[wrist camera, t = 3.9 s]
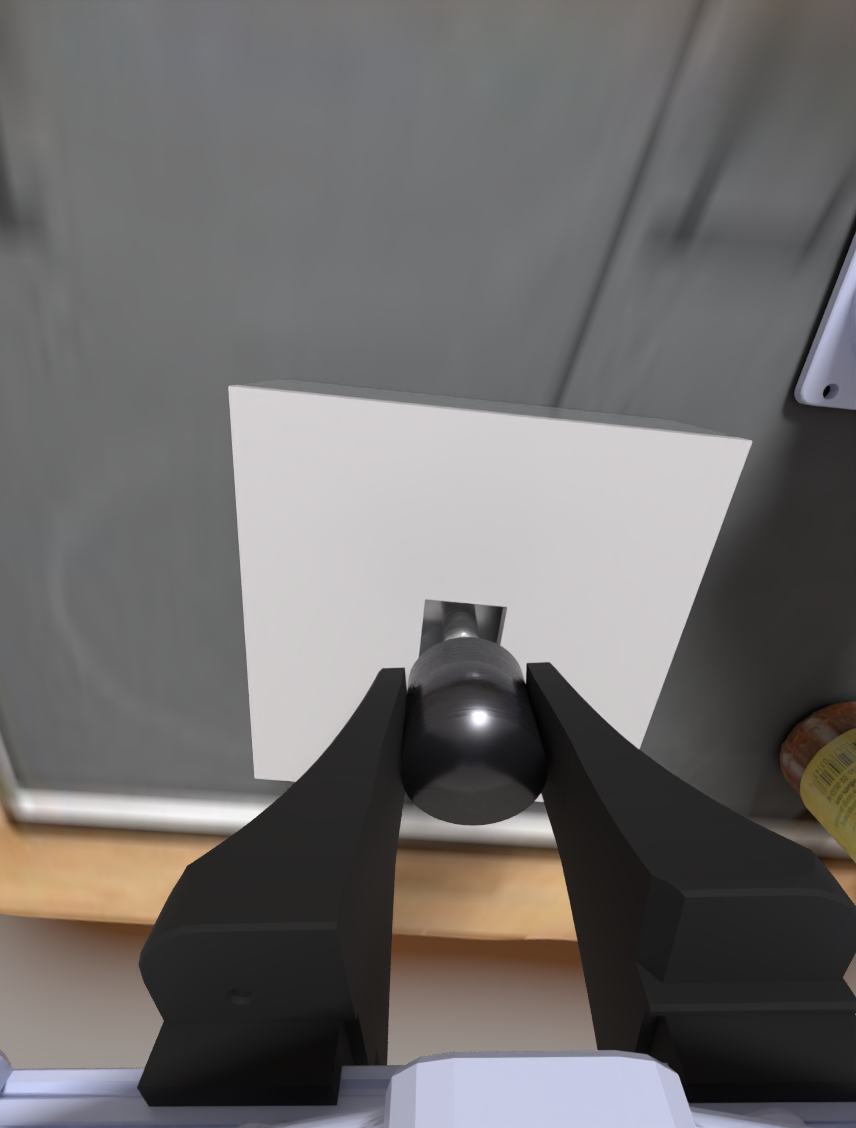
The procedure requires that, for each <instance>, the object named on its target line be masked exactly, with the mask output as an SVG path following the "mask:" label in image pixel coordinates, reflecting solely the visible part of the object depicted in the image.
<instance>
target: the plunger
mask: <svg viewBox="0 0 856 1128" xmlns="http://www.w3.org/2000/svg"><path fill="white" fill-rule="evenodd" d="M502 611H503V607H502V606H491V605H481V604H470V603H459V602H449V601H438V600H427V599H425V605H424V614H423V623H422V632H421V641H420V651H419V658H418V659H417V660H416V662H415V663H414V665H413V667H412V669H411V671H410V674H409V679H408V688H407V700H406V712H405V724H404V736H403V748H402V760H401V780H402V784H403V787H404V789H405V791H406V793H407V795H408V796H409V798H410V799H411V800H412V802H413V803H414V804H415V805H416V806H417V807H419V808H420V809H421V810H423V811H424V812H426V813H427V814H429V815H431V816H433V817H435V818H437V819H439V820H443V821H446V822H449V823H454V824H460V825H485V824H492V823H496V822H500V821H503V820H506V819H509V818H511V817H513V816H515V815H517V814H519V813H520V812H522V811H524V810H525V809H526V808H528V807H529V806H530V805H531V804H532V803H533V802H534V801H535V800H536V799H537V798H538V796H539V795H540V794H541V792H542V790H543V788H544V786H545V784H546V781H547V776H548V763H547V758H546V755H545V751H544V747H543V744H542V740H541V737H540V733H539V730H538V726H537V723H536V719H535V715H534V712H533V708H532V705H531V701H530V698H529V694H528V691H527V687H526V683H525V680H524V676H523V673H522V670H521V667H520V665H519V664H518V662H517V660H516V659H515V658H514V656H513V655H512V654H511V653H510V652H509V651H507V650H506V649H505V648H503V647H502V646H500V645H498V644H496V643H497V638H498V633H499V627H500V622H501V616H502Z"/></svg>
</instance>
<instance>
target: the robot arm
mask: <svg viewBox="0 0 856 1128" xmlns="http://www.w3.org/2000/svg"><path fill="white" fill-rule="evenodd" d="M828 385H829V386H830V392H829V393H828V395H827V396H825V397H823V390H824V389H825V387H826V386H828ZM794 394H795V399H796V400H797V401H798V402H799V403H801V404H805V405H814V406H823V407H833V408H842V409H851V410H856V233H855V235H854V238H853V240H852V243H851V246H850V248H849V251H848V253H847V256H846V258H845V261H844V264H843V266H842V269H841V271H840V274H839V277H838V279H837V282H836V284H835V287H834V290H833V292H832V295H831V297H830V300H829V303H828V305H827V308H826V310H825V313H824V315H823V318H822V321H821V323H820V326H819V328H818V331H817V334H816V336H815V339H814V341H813V344H812V347H811V349H810V352H809V354H808V357H807V360H806V362H805V365H804V367H803V370H802V372H801V375H800V378H799V380H798V383H797V385H796V388H795V393H794ZM526 687H527V691H528V694H529V698H530V701H531V705H532V708H533V712H534V715H535V719H536V723H537V726H538V730H539V733H540V737H541V740H542V744H543V747H544V751H545V755H546V758H547V763H548V776H547V781H546V784H545V786H544V788H543V790H542V792H541V794H542V797H543V801H544V804H545V807H546V810H547V814H548V817H549V820H550V823H551V826H552V830H553V833H554V836H555V839H556V843H557V847H558V850H559V854H560V858H561V862H562V867H563V872H564V876H565V881H566V886H567V891H568V895H569V900H570V905H571V910H572V915H573V920H574V925H575V930H576V935H577V940H578V945H579V950H580V955H581V961H582V966H583V971H584V977H585V982H586V987H587V993H588V997H589V1003H590V1008H591V1014H592V1020H593V1026H594V1032H595V1037H596V1043H597V1049H598V1050H597V1051H596V1050H588V1051H586V1050H585V1051H492V1052H449V1053H442V1054H435V1055H429V1056H422V1057H419V1058H417V1059H416V1060H414V1061H412V1062H410V1063H408V1064H407V1065H387V1050H388V1019H389V1018H388V1017H389V992H390V991H389V989H390V965H391V942H392V920H393V900H394V880H395V863H396V853H397V844H398V837H399V830H400V823H401V816H402V809H403V802H404V795H405V789H404V787H403V784H402V780H401V760H402V748H403V736H404V724H405V712H406V700H407V687H406V676H405V667H403V668H382V669H381V670H380V671H379V672H378V674H377V676H376V678H375V680H374V681H373V683H372V685H371V687H370V688H369V690H368V692H367V693H366V695H365V697H364V698H363V700H362V701H361V703H360V704H359V706H358V707H357V709H356V710H355V712H354V713H353V715H352V716H351V718H350V719H349V721H348V722H347V723H346V725H345V726H344V727H343V729H342V730H341V731H340V732H339V734H338V735H337V736H336V738H335V739H334V740H333V742H332V743H331V744H330V745H329V747H328V748H327V749H326V750H325V751H324V752H323V754H322V755H321V756H320V757H319V758H318V759H317V760H316V762H315V763H314V764H313V765H312V766H311V767H310V768H309V769H308V770H307V771H306V772H305V773H304V774H303V775H302V776H301V777H300V778H299V779H298V780H297V781H296V782H295V783H294V784H293V785H292V786H291V787H290V788H289V789H288V790H287V791H286V792H285V793H284V794H283V795H282V796H280V797H279V798H278V799H277V800H276V801H275V802H274V803H273V804H272V805H270V806H269V807H268V808H267V809H265V810H264V811H263V812H262V813H261V814H259V815H258V816H257V817H256V818H254V819H253V820H252V821H251V822H249V823H248V824H247V825H246V826H244V827H243V828H242V829H240V830H239V831H238V832H236V833H235V834H234V835H232V836H231V837H229V838H228V839H227V840H225V841H224V842H222V843H221V844H219V845H218V846H216V847H215V848H213V849H212V850H210V851H209V852H207V853H206V854H205V855H203V856H202V857H200V858H199V859H197V860H196V861H194V862H193V863H191V864H189V865H188V866H187V867H186V869H185V871H184V872H183V874H182V876H181V877H180V879H179V881H178V882H177V884H176V885H175V887H174V888H173V890H172V892H171V894H170V895H169V897H168V899H167V901H166V903H165V905H164V907H163V909H162V911H161V913H160V915H159V917H158V919H157V921H156V923H155V925H154V927H153V929H152V931H151V933H150V935H149V937H148V939H147V941H146V943H145V945H144V947H143V949H142V951H141V955H140V960H139V968H140V971H141V975H142V978H143V980H144V983H145V985H146V987H147V989H148V991H149V993H150V995H151V997H152V999H153V1001H154V1002H155V1004H156V1006H157V1008H158V1010H159V1012H160V1014H161V1016H162V1017H163V1020H164V1022H163V1025H162V1027H161V1030H160V1032H159V1035H158V1037H157V1039H156V1042H155V1044H154V1047H153V1050H152V1052H151V1054H150V1056H149V1059H148V1062H147V1064H146V1066H145V1068H70V1069H69V1068H68V1069H12V1067H11V1063H10V1061H9V1060H8V1058H7V1056H6V1055H5V1054H4V1053H3V1052H2V1051H1V1050H0V1128H856V1015H855V1013H856V997H855V995H854V994H853V992H852V991H851V989H850V988H849V986H848V985H847V983H846V982H845V980H844V979H843V976H844V974H845V972H846V970H847V968H848V966H849V964H850V962H851V961H852V959H853V957H854V955H855V953H856V906H855V905H854V903H853V902H852V901H851V899H850V898H849V897H848V895H847V894H846V893H845V891H844V890H843V888H842V887H841V886H840V884H839V883H838V882H837V880H836V879H835V878H834V876H833V875H832V874H831V873H830V872H829V870H828V869H827V868H826V867H825V866H824V865H823V863H822V862H821V861H820V860H819V859H818V858H817V856H816V855H815V854H814V853H813V852H812V851H811V850H810V849H807V848H805V847H803V846H801V845H799V844H797V843H795V842H793V841H791V840H789V839H787V838H785V837H783V836H781V835H779V834H777V833H775V832H773V831H770V830H768V829H766V828H764V827H762V826H760V825H758V824H756V823H754V822H752V821H750V820H749V819H747V818H745V817H743V816H741V815H740V814H738V813H736V812H734V811H732V810H731V809H729V808H727V807H725V806H723V805H722V804H720V803H718V802H716V801H715V800H713V799H711V798H710V797H708V796H706V795H705V794H703V793H701V792H700V791H698V790H697V789H695V788H693V787H692V786H690V785H689V784H687V783H686V782H684V781H683V780H681V779H680V778H678V777H677V776H675V775H673V774H672V773H671V772H669V771H668V770H666V769H665V768H663V767H662V766H661V765H659V764H658V763H656V762H655V761H654V760H652V759H651V758H650V757H649V756H647V755H646V754H645V753H643V752H642V751H641V750H639V749H638V748H637V747H635V746H634V745H633V744H632V743H630V742H629V741H628V740H627V739H626V738H624V737H623V736H622V735H621V734H620V733H619V732H618V731H617V730H615V729H614V728H613V727H612V726H611V725H610V724H609V723H608V722H607V721H606V720H605V719H603V718H602V717H601V716H600V715H599V714H598V713H597V712H596V711H595V710H594V709H593V708H592V707H591V706H590V705H589V704H588V703H587V702H586V701H585V700H584V699H583V698H582V697H581V696H580V695H579V693H578V692H577V691H576V690H575V689H574V688H573V687H572V686H571V685H570V684H569V683H568V682H567V680H566V679H565V678H564V677H563V676H562V675H561V674H560V673H559V671H558V670H557V669H556V668H555V667H554V666H553V665H552V664H551V663H550V662H539V663H527V664H526Z"/></svg>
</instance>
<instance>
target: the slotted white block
mask: <svg viewBox="0 0 856 1128" xmlns="http://www.w3.org/2000/svg"><path fill="white" fill-rule="evenodd" d="M228 388H229V402H230V417H231V432H232V447H233V462H234V477H235V492H236V507H237V522H238V537H239V552H240V566H241V581H242V596H243V611H244V626H245V641H246V656H247V671H248V686H249V701H250V716H251V730H252V745H253V760H254V775H255V778H258V779H270V780H282V781H294V782H296V781H297V780H298V779H299V778H300V777H301V776H302V775H303V774H304V773H305V772H306V771H307V770H308V769H309V768H310V767H311V766H312V765H313V764H314V763H315V762H316V760H317V759H318V758H319V757H320V756H321V755H322V754H323V752H324V751H325V750H326V749H327V748H328V747H329V745H330V744H331V743H332V742H333V740H334V739H335V738H336V736H337V735H338V734H339V732H340V731H341V730H342V729H343V727H344V726H345V725H346V723H347V722H348V721H349V719H350V718H351V716H352V715H353V713H354V712H355V710H356V709H357V707H358V706H359V704H360V703H361V701H362V700H363V698H364V697H365V695H366V693H367V692H368V690H369V688H370V687H371V685H372V683H373V681H374V680H375V678H376V676H377V674H378V672H379V671H380V670H381V669H382V668H403V667H405V676H406V687H407V688H408V679H409V674H410V671H411V669H412V667H413V665H414V663H415V662H416V660H417V659H418V658H419V651H420V641H421V632H422V623H423V614H424V605H425V599H427V600H438V601H449V602H459V603H470V604H481V605H491V606H502V607H503V611H502V616H501V622H500V627H499V633H498V638H497V643H496V644H498V645H500V646H502V647H503V648H505V649H506V650H507V651H509V652H510V653H511V654H512V655H513V656H514V658H515V659H516V660H517V662H518V664H519V665H520V667H521V670H522V673H523V676H524V680H525V683H526V664H527V663H539V662H550V663H551V664H552V665H553V666H554V667H555V668H556V669H557V670H558V671H559V673H560V674H561V675H562V676H563V677H564V678H565V679H566V680H567V682H568V683H569V684H570V685H571V686H572V687H573V688H574V689H575V690H576V691H577V692H578V693H579V695H580V696H581V697H582V698H583V699H584V700H585V701H586V702H587V703H588V704H589V705H590V706H591V707H592V708H593V709H594V710H595V711H596V712H597V713H598V714H599V715H600V716H601V717H602V718H603V719H605V720H606V721H607V722H608V723H609V724H610V725H611V726H612V727H613V728H614V729H615V730H617V731H618V732H619V733H620V734H621V735H622V736H623V737H624V738H626V739H627V740H628V741H629V742H630V743H632V744H633V745H634V746H635V747H637V748H638V749H640V746H641V743H642V741H643V738H644V735H645V732H646V730H647V727H648V724H649V722H650V719H651V716H652V713H653V711H654V708H655V705H656V702H657V700H658V697H659V694H660V692H661V689H662V686H663V683H664V681H665V678H666V675H667V673H668V670H669V667H670V664H671V662H672V659H673V656H674V653H675V651H676V648H677V645H678V643H679V640H680V637H681V634H682V632H683V629H684V626H685V624H686V621H687V618H688V615H689V613H690V610H691V607H692V604H693V602H694V599H695V596H696V594H697V591H698V588H699V585H700V583H701V580H702V577H703V575H704V572H705V569H706V566H707V564H708V561H709V558H710V555H711V553H712V550H713V547H714V545H715V542H716V539H717V536H718V534H719V531H720V528H721V526H722V523H723V520H724V517H725V515H726V512H727V509H728V506H729V504H730V501H731V498H732V496H733V493H734V490H735V487H736V485H737V482H738V479H739V477H740V474H741V471H742V468H743V466H744V463H745V460H746V457H747V455H748V452H749V449H750V447H751V444H752V441H751V440H747V439H743V438H739V437H735V436H731V435H727V434H723V433H719V432H715V431H711V430H707V429H703V428H699V427H695V426H691V425H688V424H684V423H680V422H676V421H672V420H668V419H658V418H649V417H639V416H630V415H620V414H611V413H601V412H592V411H582V410H573V409H564V408H554V407H545V406H535V405H526V404H516V403H507V402H497V401H488V400H478V399H469V398H459V397H450V396H440V395H431V394H421V393H412V392H402V391H393V390H383V389H374V388H364V387H355V386H345V385H336V384H327V383H317V382H308V381H298V380H289V379H281V380H273V381H265V382H257V383H249V384H241V385H233V386H228ZM535 801H537V802H544V801H543V797H542V794H540V795H539V796H538V798H537V799H536V800H535Z"/></svg>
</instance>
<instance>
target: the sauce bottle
mask: <svg viewBox="0 0 856 1128" xmlns="http://www.w3.org/2000/svg"><path fill="white" fill-rule="evenodd" d="M779 760H780V768H781V771H782V773H783V775H784V777H785V779H786V781H787V782H788V783H789V784H790V785H791V786H792V787H793V788H794V790H795V791H796V792H797V793H798V794H799V795H800V796H801V798H802V800H803V803H804V805H805V806H806V807H807V809H808V810H809V811H810V812H811V813H812V814H813V815H814V817H815V818H816V819H817V820H818V821H819V822H820V823H821V825H822V826H823V827H824V828H825V829H826V830H827V831H828V832H829V834H830V835H831V836H832V837H833V838H834V839H835V840H836V841H837V842H838V844H839V845H840V846H841V847H842V848H843V849H844V850H845V851H846V853H847V854H848V855H849V856H850V857H851V858H852V859H853V860H854V861H855V863H856V701H846V702H840V703H836V704H831V705H828V706H827V707H825V708H822V709H820V710H818V711H814V712H813V713H812V714H811V715H810V716H808V717H807V718H805V719H804V720H802V721H801V722H799V723H798V724H797V725H796V726H795V727H794V728H793V730H791V732H790V733H789V734H788V736H787V739H786V740H785V741H784V742H783V743H782V745H781V753H780V757H779Z"/></svg>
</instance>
